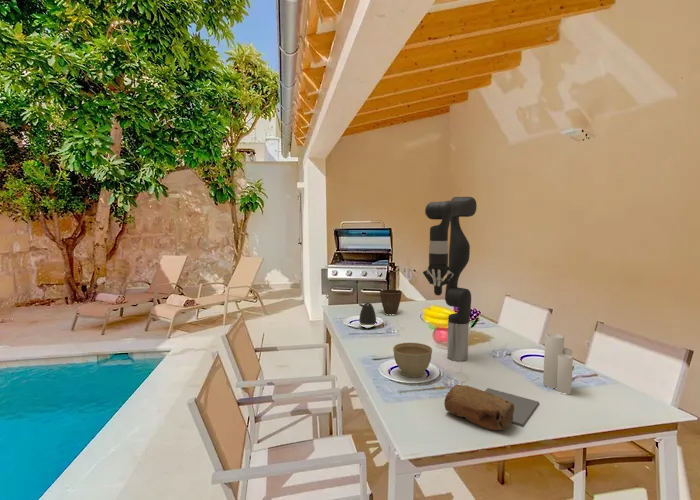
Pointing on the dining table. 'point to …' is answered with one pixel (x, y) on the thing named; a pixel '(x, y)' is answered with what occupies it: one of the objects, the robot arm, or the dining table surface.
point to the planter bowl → (412, 358)
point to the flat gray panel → (517, 406)
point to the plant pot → (390, 300)
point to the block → (479, 407)
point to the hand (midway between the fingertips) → (437, 295)
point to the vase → (557, 364)
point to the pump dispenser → (367, 314)
